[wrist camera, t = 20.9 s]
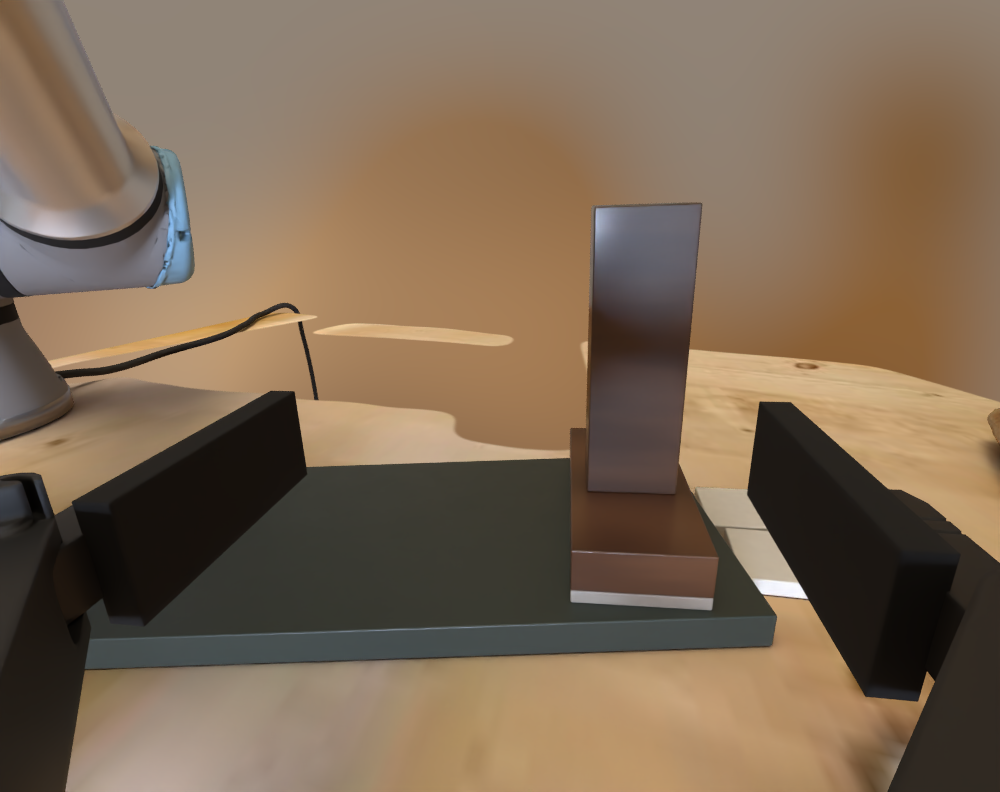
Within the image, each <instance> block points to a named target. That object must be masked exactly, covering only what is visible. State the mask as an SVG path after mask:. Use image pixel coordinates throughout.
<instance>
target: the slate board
mask: <svg viewBox="0 0 1000 792" xmlns="http://www.w3.org/2000/svg"><path fill="white" fill-rule="evenodd" d="M306 469H307V475H306V476H305V477H304V478H303V479H302V480H301V481H300V482H299V483H298V484H297V485H296V486H295V487H293V488H292V489H291V490H290V491H289V492H288V493H287V494H286V495H285V496H284V497H283V498H282V499H281V500H280V501H278V502H277V503H276V504H275V505H274V506H273V507H272V508H271V509H270V510H269V511H268V512H267V513H266V514H265V515H263V516H262V517H261V518H260V519H259V520H258V521H257V522H256V523H255V524H254V525H253V526H252V527H251V528H250V529H248V530H247V531H246V532H245V533H244V534H243V535H242V536H241V537H240V538H239V539H238V540H237V541H236V542H235V543H234V544H232V545H231V546H230V547H229V548H228V549H227V550H226V551H225V552H224V553H223V554H222V555H221V556H220V557H219V558H217V559H216V560H215V561H214V562H213V563H212V564H211V565H210V566H209V567H208V568H207V569H206V570H205V571H204V572H202V573H201V574H200V575H199V576H198V577H197V578H196V579H195V580H194V581H193V582H192V583H191V584H190V585H189V586H187V587H186V588H185V589H184V590H183V591H182V592H181V593H180V594H179V595H178V596H177V597H176V598H175V599H174V600H172V601H171V602H170V603H169V604H168V605H167V606H166V607H165V608H164V609H163V610H162V611H161V612H160V613H159V614H158V615H156V616H155V617H154V618H153V619H152V620H151V621H150V622H149V623H148V624H147V625H146V626H145V627H142V626H132V625H121V624H111V623H110V620H109V617H108V614H107V611H106V608H105V605H104V602H103V599H101V600H100V601H98V602H97V603H96V604H95V605H93V606H92V607H91V608H90V609H88V610H87V611H86V612H87V615H88V618H89V621H90V624H91V633H90V639H89V646H88V652H87V658H86V664H85V669H106V668H136V667H165V666H194V665H224V664H253V663H283V662H312V661H342V660H371V659H401V658H430V657H460V656H489V655H519V654H548V653H577V652H607V651H636V650H666V649H695V648H725V647H754V646H771V645H772V642H773V636H774V631H775V625H776V620H777V615H776V614H775V612H774V611H773V610H772V608H771V607H770V605H769V604H768V602H767V601H766V599H765V598H764V596H763V595H762V594H761V592H760V591H759V589H758V588H757V586H756V585H755V583H754V582H753V581H752V579H751V578H750V576H749V575H748V573H747V572H746V570H745V569H744V567H743V566H742V565H741V563H740V562H739V560H738V559H737V557H736V556H735V554H734V553H733V552H732V550H731V549H730V547H729V546H728V544H727V543H726V541H725V540H724V538H723V537H722V536H721V534H720V533H719V531H718V530H717V528H716V527H715V525H714V524H713V522H712V521H711V520H710V518H709V517H708V515H707V514H706V512H705V511H704V509H703V508H702V507H701V505H700V504H699V502H698V501H697V499H696V498H695V496H694V495H693V493H692V492H691V493H692V495H693V498H694V500H695V503H696V505H697V507H698V510H699V512H700V514H701V517H702V519H703V522H704V524H705V526H706V529H707V531H708V533H709V536H710V538H711V540H712V543H713V545H714V548H715V550H716V552H717V555H718V557H719V561H718V569H717V577H716V584H715V592H714V598H713V607H712V610H695V609H678V608H661V607H644V606H627V605H610V604H593V603H576V602H571V601H570V458H561V459H531V460H502V461H473V462H443V463H414V464H384V465H355V466H326V467H306Z"/></svg>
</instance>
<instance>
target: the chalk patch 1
mask: <svg viewBox="0 0 1000 792" xmlns="http://www.w3.org/2000/svg"><path fill="white" fill-rule="evenodd" d="M747 491H748V489H730V488H709V487H696V488H695V495H694V496H695V498H696V499H697V501H698V502H699V504H700V505H701V507H702V508H703V509H704V511H705V512H706V514H707V515H708V517H709V518H710V520H711V521H712V522H713V524H714V525H715V527H716V528H717V530H718V531H719V533H720V534H721V536H722V537H723V538H724V532H725V528H735V529H747V530H759V531H768V530H767V528H766V527H765V525H764V523H763V521H762V520H761V518H760V516H759V515H758V513H757V511H756V510H755V508H754V506H753V504H752V503H751V501H750V499H749V498H748V496H747Z"/></svg>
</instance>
